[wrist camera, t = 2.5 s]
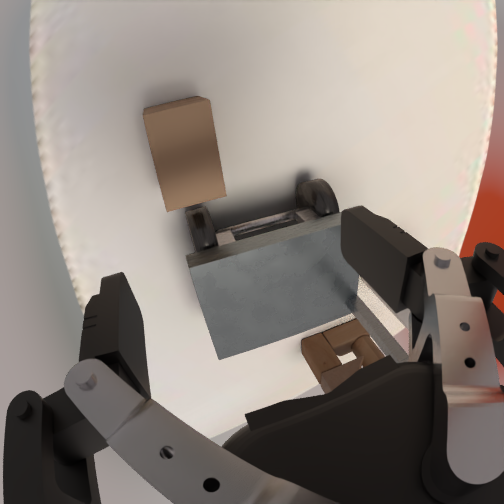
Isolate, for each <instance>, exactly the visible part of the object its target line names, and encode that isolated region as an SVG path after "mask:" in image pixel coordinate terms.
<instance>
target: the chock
mask: <svg viewBox="0 0 504 504" xmlns="http://www.w3.org/2000/svg"><path fill="white" fill-rule="evenodd" d="M143 119H144V123H145V128H146V132H147V136H148V140H149V145H150V149H151V153H152V157H153V161H154V165H155V169H156V173H157V177H158V181H159V184H160V188H161V192H162V196H163V199H164V203H165V207H166V210H167V212H169V211H173V210H177V209H180V208H184V207H187V206H191V205H195V204H199V203H202V202H206V201H210V200H214V199H217V198H221V197H225V196H227V195H226V190H225V184H224V179H223V173H222V168H221V162H220V156H219V151H218V145H217V139H216V133H215V128H214V122H213V116H212V110H211V104H210V100H208V99H206V98H203V97H199V96H196V97H191V98H186V99H182V100H178V101H173V102H169V103H165V104H161V105H157V106H153V107H150V108H146V109H144V112H143Z"/></svg>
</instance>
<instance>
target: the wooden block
mask: <svg viewBox="0 0 504 504" xmlns="http://www.w3.org/2000/svg"><path fill="white" fill-rule="evenodd" d="M350 352H353V353H354V354H355V356H356V357H357V359H354V360H352V361H350V362H348V363H345V364H343V365H342V363H341V362H340V360H339V359H338V357H337V356H336V355H338V356H343V355H345V354H347V353H350ZM302 354H303V356H304V358H305V360H306V361H307V363H308V365H309V367H310V368H311V370H312V372H313V373H314V375H315V377H316V379H317V380H318V382H319V384H321V387H322V389H323V391H324V392H325V394H327V393H329V392H331V391H332V390H333V389H335V388H336V387H337V386H339V385H340V384H341V383H342V382H344V381H345V380H346V379H348V378H349V377H350V376H351V375H353V374H354V373H355V372H356V371H358V370H359V369H361V366H363V367H365V366H367V365H370V364H372V363H374V362H376V361H378V360H380V359H382V358H384V357H385V356H384V355H383V353H382V352H381V351H380V350H379V349H378V347H377V346H376V344H375V343H374V342H373V341H372V339H371V338H370V335H369V333H368V332H367V331H366V330H365V328H364V327H363V326H362V325H361V323H360V322H359V321H358V320H357V319H355V320H352V321H350V322H347V323H345V324H342V325H340V326H337V327H335V328H332V329H330V330H327V331H325V332H323V333H319V334H316V335H313V336H311V337H308V338H305V339H303V340H302Z"/></svg>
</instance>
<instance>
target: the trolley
mask: <svg viewBox="0 0 504 504" xmlns="http://www.w3.org/2000/svg"><path fill="white" fill-rule="evenodd" d="M296 204H297V209H295V210H291V211H287V212H283V213H279V214H276V215H272V216H268V217H264V218H260V219H257V220H253V221H249V222H246V223H242V224H238V225H235V226H231V227H227V228H224V229H220V230H216V231H215V230H214V226H213V223H212V220H211V217H210V214H209V212H208V209H207V207H206V206H205V207H202V208H198V209H194V210H191V211H187V212H185V214H186V218H187V222H188V226H189V230H190V234H191V238H192V241H193V245H194V248H195V252H196V253H193V254H189V255H186V259H187V263H188V267H189V270H190V273H191V277H192V280H193V283H194V286H195V290H196V293H197V296H198V299H199V302H200V305H201V309H202V312H203V315H204V318H205V321H206V324H207V327H208V330H209V333H210V336H211V339H212V342H213V345H214V348H215V350H216V353H217V356H218V359H219V360H221V359H224V358H227V357H230V356H234V355H237V354H240V353H243V352H246V351H249V350H252V349H255V348H258V347H261V346H264V345H267V344H270V343H273V342H276V341H279V340H282V339H285V338H288V337H290V336H293V335H296V334H299V333H301V332H304V331H307V330H310V329H312V328H315V327H317V326H320V325H323V324H325V323H328V322H331V321H333V320H336V319H338V318H341V317H343V316H346V315H348V314H351V313H353V315H354V316H355V317H356V318H357V320H358V321H359V322H360V323H361V325H362V326H363V327H364V328H365V330H366V331H367V332H368V333H369V335H370V336H371V337H372V338H373V340H374V341H375V342H376V343H377V345H378V346H379V347H380V349H381V350H382V351H383V352H384V354H385V355H386V356H388V355H390V356H391V357H392V358H393V359H394V361H395V362H396V363H401V362H408V358H409V355H407V353H406V352H405V351H404V349H403V348H402V347H401V346H400V345H399V343H398V342H397V341H396V340H395V339H394V338H393V336H392V335H391V334H390V333H389V332H388V330H387V329H386V328H385V327H384V326H383V324H382V323H381V322H380V321H379V320H378V319H377V317H376V316H375V315H374V314H373V313H372V312H371V310H370V309H369V308H368V307H367V306H366V305H365V304H364V302H363V301H362V300H361V299H360V298H359V297H358V296H357V290H358V280H359V274H358V273H357V272H356V271H355V270H354V269H353V268H352V267H351V266H350V265H349V264H348V263H347V262H346V261H345V259H344V257H343V255H342V252H341V246H340V243H341V213H342V212H340V213H339V207H338V203H337V199H336V197H335V194H334V192H333V190H332V188H331V187H330V186H329V184H328V183H327V182H326V181H325V180H323V179H315V180H311V181H307V182H302V183H300V184H299V185H298V187H297V190H296ZM292 220H296V221H297V222H298V223H299V224H296V225H292V226H288V227H285V228H281V229H278V230H274V231H270V232H267V233H263V234H260V235H256V236H252V237H249V238H245V239H242V240H238V241H236V240H235V239H234V236H237V235H241V234H244V233H248V232H252V231H255V230H259V229H262V228H266V227H270V226H273V225H277V224H281V223H284V222H288V221H292Z"/></svg>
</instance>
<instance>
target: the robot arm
mask: <svg viewBox="0 0 504 504" xmlns="http://www.w3.org/2000/svg"><path fill="white" fill-rule="evenodd" d="M340 246H341V252H342V255H343V257H344V259H345V261H346V262H347V263H348V264H349V265H350V266H351V267H352V268H353V269H354V270H355V271H356V272H357V273H358V274H359V275H360V276H361V277H362V278H363V279H364V280H365V281H366V282H367V283H368V284H369V285H370V286H371V287H372V288H373V290H374V291H375V292H376V293H377V294H378V295H379V296H380V297H381V298H382V299H383V300H384V301H385V302H386V303H387V304H388V305H389V306H390V308H391V309H392V310H393V311H394V312H395V313H398V312H401V311H403V310H405V309H407V308H408V309H409V310H410V314H409V358H408V362H401V363H396V362H395V361H394V359H393V358H392V357H391V356H390V355H388V356H386V357H384V358H382V359H380V360H378V361H376V362H374V363H372V364H370V365H367V366H365V367H363V368H361V369H359V370H358V371H356V372H355V373H354V374H353V375H351V376H350V377H349V378H348V379H346V380H345V381H344V382H342V383H341V384H340V385H339V386H337V387H336V388H335V389H333V390H332V391H331V392H329V393H327V394H324V395H318V396H313V397H306V398H300V399H293V400H286V401H282V402H279V403H276V404H274V405H271V406H268V407H265V408H262V409H259V410H256V411H253V412H250V413H247V414H245V417H246V420H247V423H248V425H246V426H245V427H243V428H241V429H240V430H239V431H237V432H236V433H235V434H233V435H232V436H231V437H230V438H229V439H228V440H227V441H226V442H225V443H224V444H223V445H222V447H221V446H219V445H217V444H216V443H214V442H213V441H211V440H210V439H208V438H207V437H205V436H204V435H202V434H200V433H199V432H198V431H196V430H195V429H193V428H192V427H190V426H189V425H187V424H186V423H184V422H183V421H182V420H180V419H179V418H177V417H176V416H175V415H173V414H172V413H171V412H169V411H168V410H166V409H165V408H164V407H162V406H161V405H160V404H159V403H157V402H156V401H154V400H153V399H151V393H150V385H149V376H148V368H147V358H146V348H145V336H144V324H143V318H142V314H141V311H140V308H139V306H138V303H137V301H136V299H135V297H134V295H133V292H132V290H131V288H130V286H129V283H128V281H127V279H126V277H125V275H124V273H123V272H120V273H117V274H113V275H110V276H106V277H103V278H102V280H101V287H100V294H97V295H94V296H92V297H91V299H90V301H89V302H88V304H87V306H86V307H85V314H84V321H83V330H82V336H81V346H80V354H79V363H77V364H76V365H74V366H73V367H72V368H71V369H70V371H69V372H68V374H67V375H66V378H65V381H64V387H63V388H62V389H60V390H59V391H57V392H55V393H53V394H51V395H49V396H47V397H45V398H42V397H41V396H39V394H38V393H36V392H34V391H30V390H28V391H24V392H21V393H19V394H18V395H17V396H16V397H15V398H14V399H13V400H12V401H11V403H10V405H9V407H8V410H7V416H6V426H5V439H4V456H3V457H4V459H3V495H4V504H101V500H100V494H99V489H98V483H97V476H96V470H95V462H94V454H95V453H96V452H98V451H100V450H102V449H104V448H106V447H108V446H110V447H111V448H112V449H113V450H114V451H115V452H116V453H117V454H118V455H119V456H120V457H121V458H122V459H123V460H124V461H125V462H126V463H127V464H128V465H129V466H131V467H132V468H133V469H134V470H135V471H136V472H137V473H138V474H139V475H140V476H142V477H143V478H144V479H145V480H146V481H147V482H148V483H149V484H150V485H152V486H153V487H154V488H155V489H156V490H157V491H159V492H160V493H161V494H162V495H164V496H165V497H166V498H167V499H168V500H170V501H171V502H172V503H174V504H504V386H503V385H500V383H499V376H498V370H497V364H496V358H497V359H498V360H499V362H500V363H501V364H502V365H503V367H504V314H503V313H502V312H501V311H500V310H499V309H498V308H497V307H496V306H495V305H494V304H493V303H492V301H493V299H494V297H495V294H496V292H497V289H498V290H499V291H500V292H501V293H502V294H503V295H504V250H503V249H502V248H501V247H499V246H497V245H495V244H492V243H488V242H483V243H479V244H477V245H476V247H475V250H474V254H473V256H472V257H464V258H459V256H458V255H457V254H455V253H454V252H452V251H451V250H448V249H445V248H440V247H434V248H430V249H428V248H427V247H425V246H424V245H423V244H421V243H420V242H419V241H417V240H416V239H415V238H413V237H412V236H411V235H409V234H408V233H407V232H404V230H402V229H401V228H400V227H397V225H396V224H394V223H393V222H391V221H390V220H389V219H386V218H384V217H381V216H378V215H375V214H374V213H372V212H371V211H369V210H368V209H366V208H365V207H364V206H356V207H353V208H349V209H345V210H343V211H342V213H341V243H340ZM495 357H496V358H495Z"/></svg>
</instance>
